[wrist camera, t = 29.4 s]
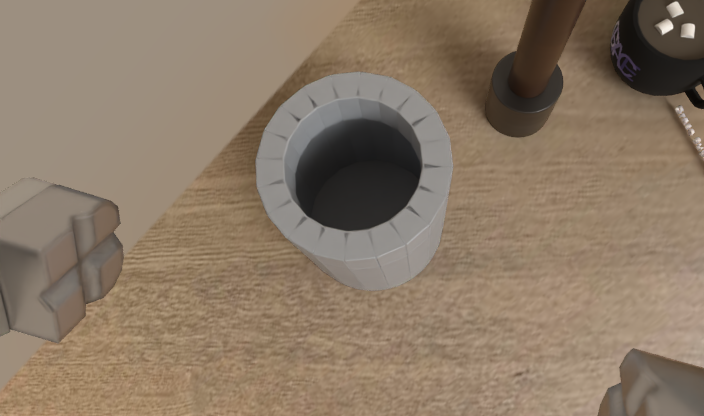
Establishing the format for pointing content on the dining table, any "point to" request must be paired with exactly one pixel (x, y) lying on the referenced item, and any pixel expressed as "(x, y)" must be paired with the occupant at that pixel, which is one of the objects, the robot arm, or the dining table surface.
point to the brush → (532, 70)
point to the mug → (662, 50)
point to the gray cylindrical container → (357, 177)
